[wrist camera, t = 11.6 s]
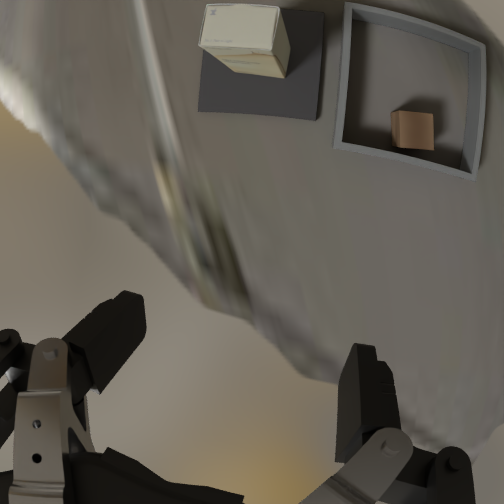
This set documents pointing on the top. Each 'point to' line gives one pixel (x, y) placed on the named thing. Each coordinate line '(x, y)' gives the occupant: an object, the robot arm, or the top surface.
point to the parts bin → (438, 34)
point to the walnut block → (412, 130)
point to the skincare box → (247, 38)
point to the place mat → (270, 88)
